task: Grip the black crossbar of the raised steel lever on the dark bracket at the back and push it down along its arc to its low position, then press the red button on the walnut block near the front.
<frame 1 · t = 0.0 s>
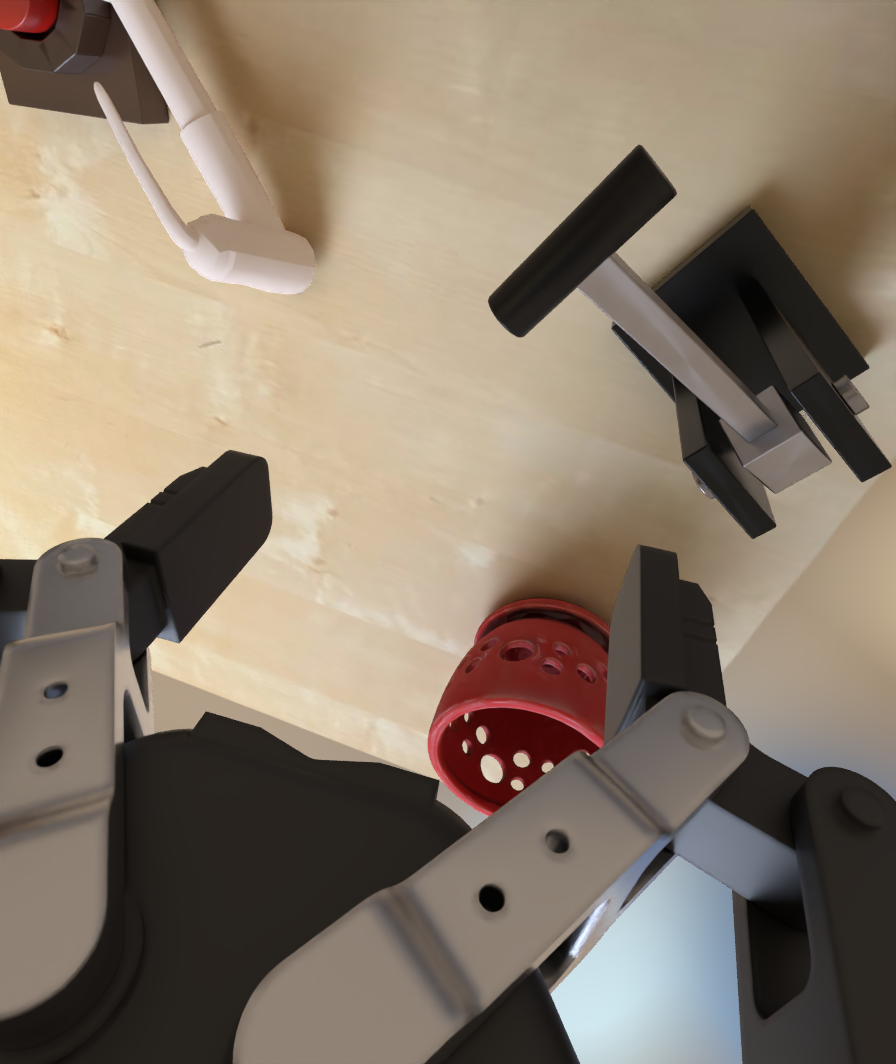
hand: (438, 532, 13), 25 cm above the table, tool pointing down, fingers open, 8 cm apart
faucet: (222, 118, 32), on the table, touching button block
lever: (698, 368, 19), point 15 cm above the table, hinge at 28.0°
flower pot: (546, 640, 48), on the table
bracket: (733, 340, 32), on the table
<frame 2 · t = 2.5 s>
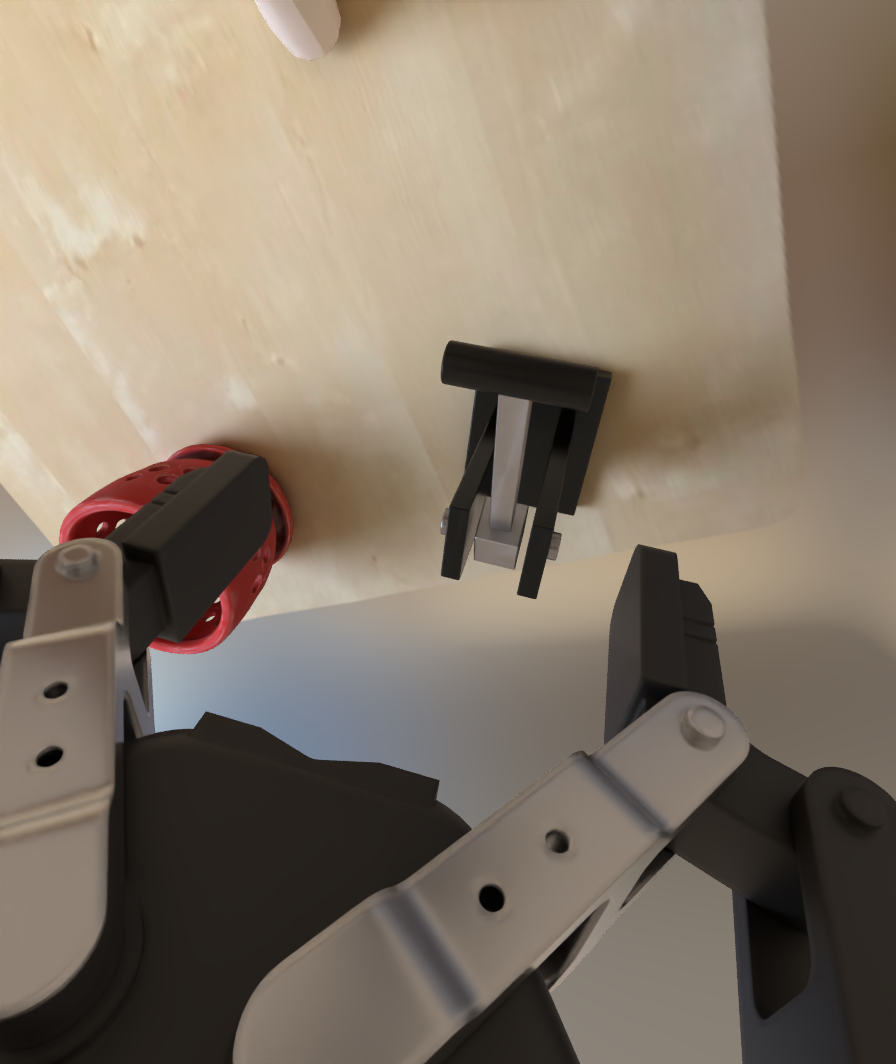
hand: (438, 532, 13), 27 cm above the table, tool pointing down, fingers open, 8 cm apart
lever: (507, 475, 26), point 15 cm above the table, hinge at 28.0°
flower pot: (236, 494, 50), on the table
bracket: (532, 432, 41), on the table
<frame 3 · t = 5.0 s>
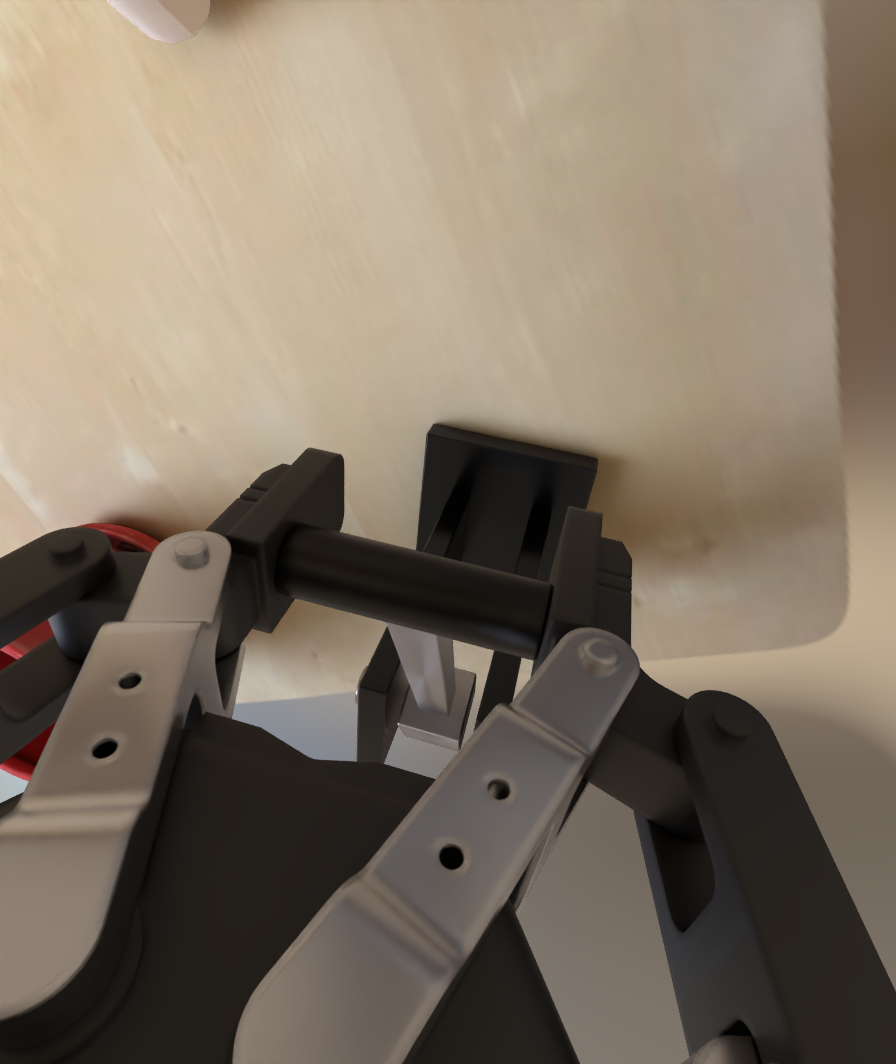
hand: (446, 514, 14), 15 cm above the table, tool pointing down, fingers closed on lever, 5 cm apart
lever: (431, 669, 17), point 15 cm above the table, hinge at 28.0°, touching gripper
flower pot: (147, 576, 42), on the table
bracket: (498, 524, 32), on the table
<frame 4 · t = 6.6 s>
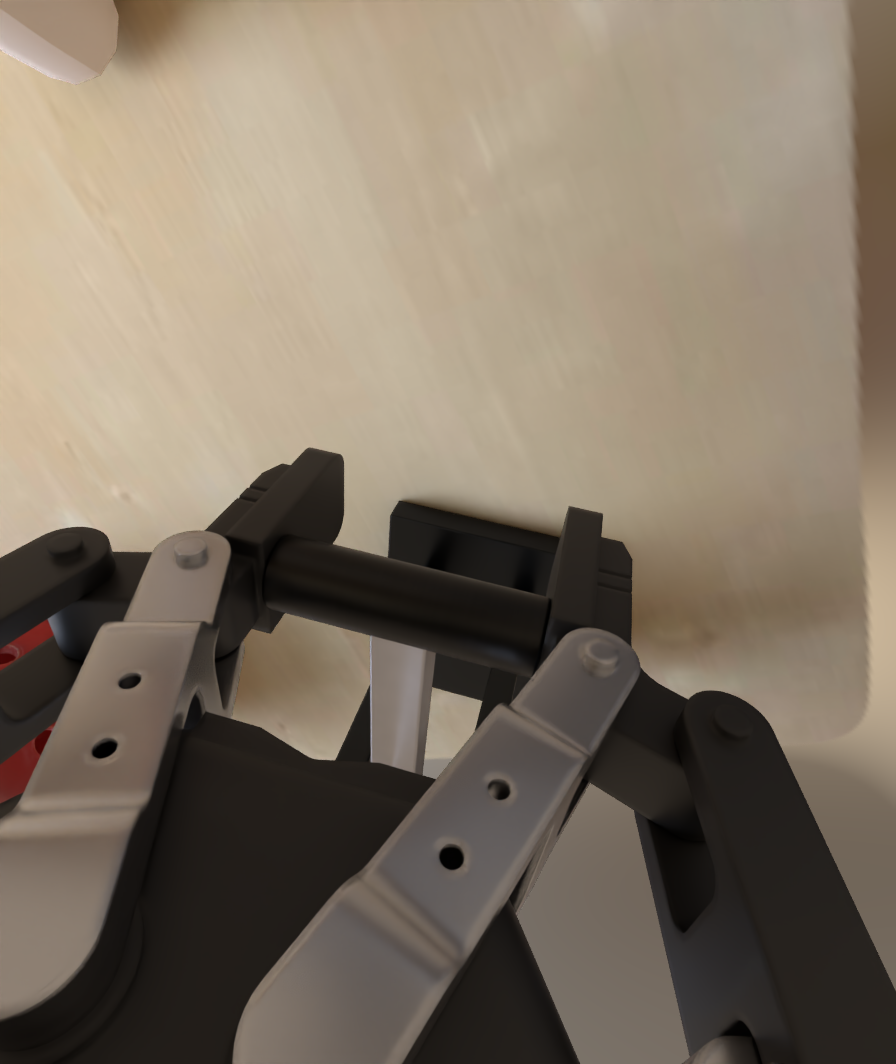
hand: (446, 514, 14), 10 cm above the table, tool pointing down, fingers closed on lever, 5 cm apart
lever: (397, 773, 15), point 12 cm above the table, hinge at 4.4°, touching gripper
flower pot: (100, 641, 38), on the table
bracket: (474, 606, 28), on the table
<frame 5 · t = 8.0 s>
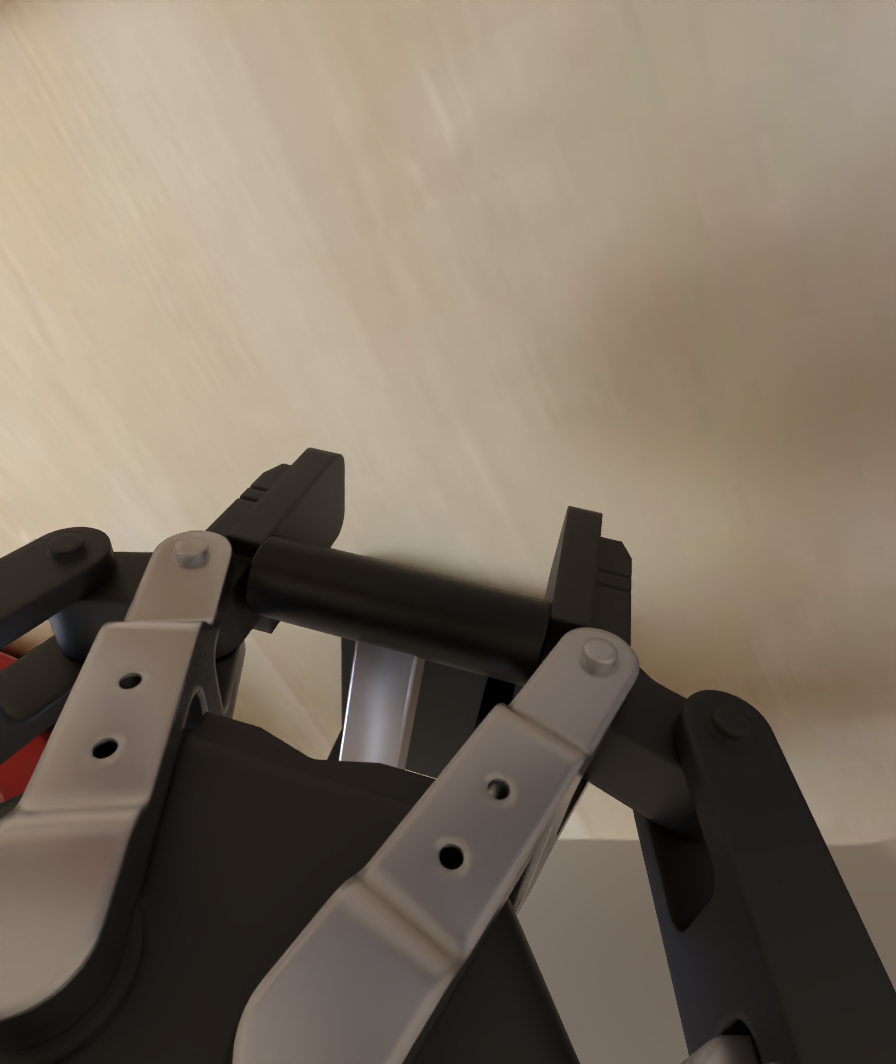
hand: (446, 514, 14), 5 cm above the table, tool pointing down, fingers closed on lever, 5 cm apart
lever: (352, 884, 12), point 10 cm above the table, hinge at -18.2°, touching gripper
flower pot: (29, 698, 34), on the table
bracket: (448, 679, 24), on the table
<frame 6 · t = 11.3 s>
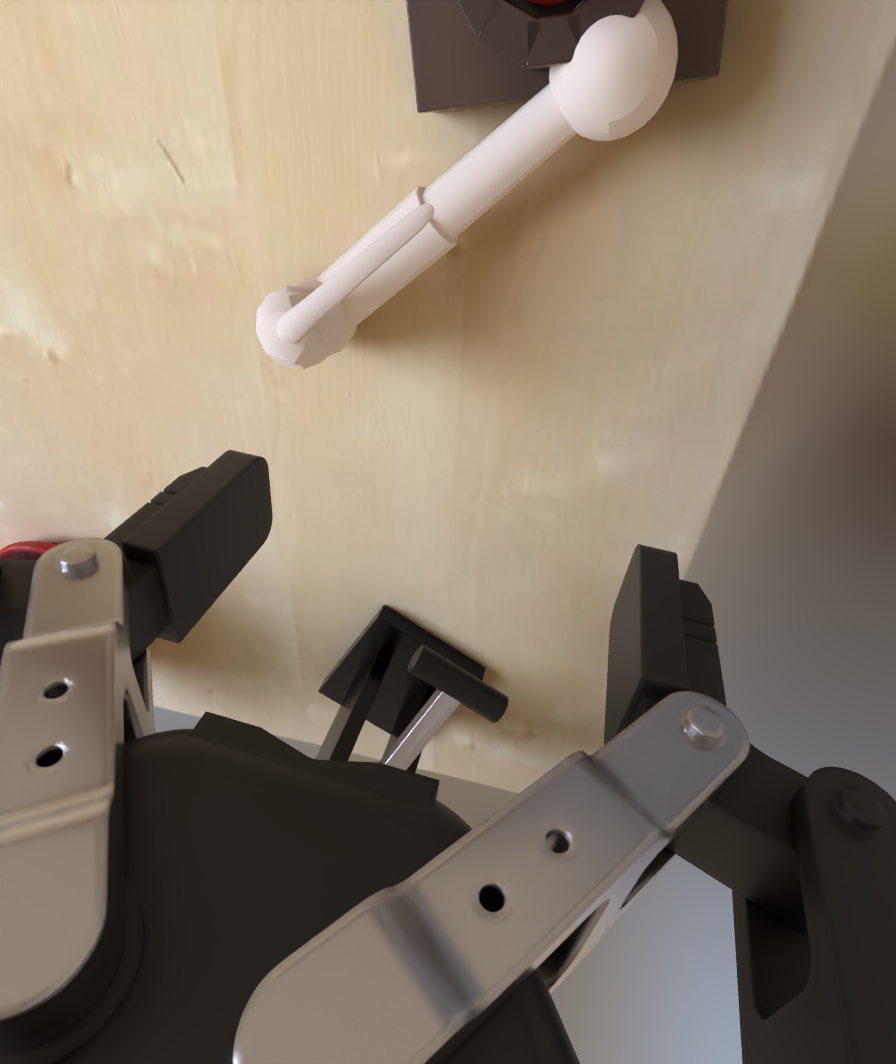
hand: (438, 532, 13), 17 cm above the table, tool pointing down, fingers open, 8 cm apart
faucet: (455, 204, 25), on the table, touching button block
lever: (389, 769, 31), point 10 cm above the table, hinge at -18.7°
flower pot: (81, 589, 46), on the table
bracket: (400, 674, 43), on the table
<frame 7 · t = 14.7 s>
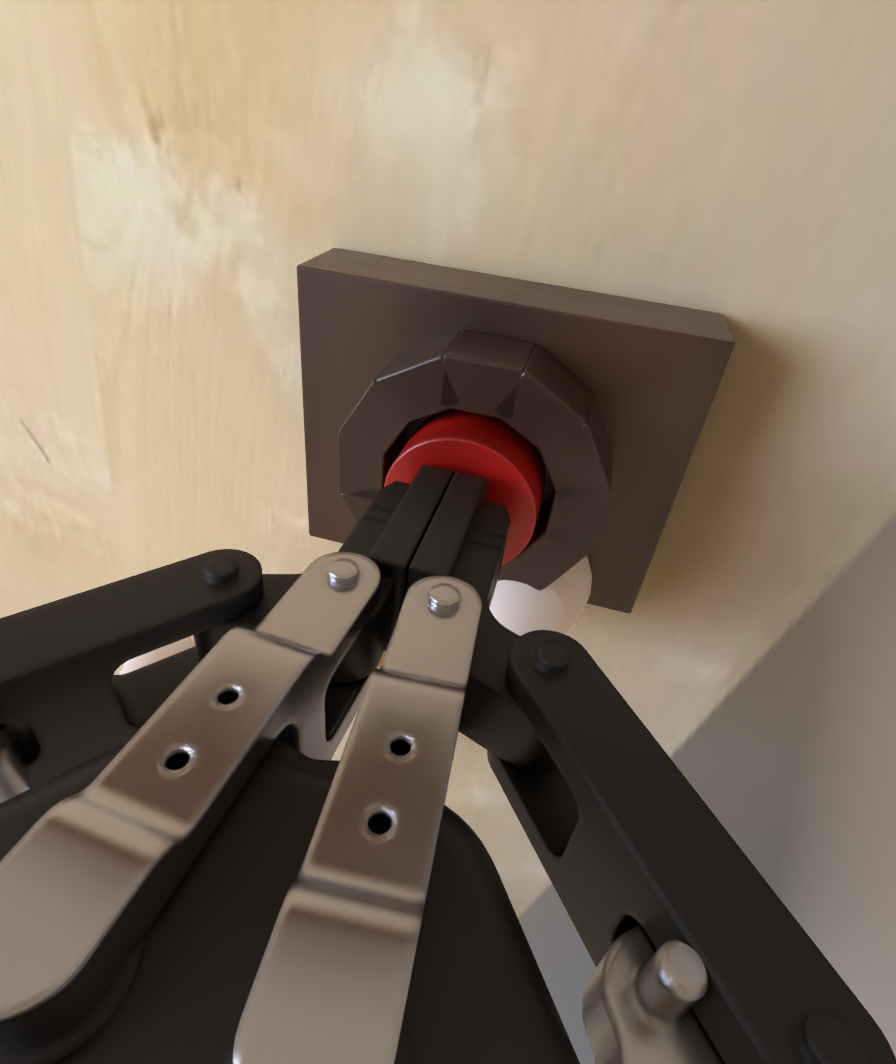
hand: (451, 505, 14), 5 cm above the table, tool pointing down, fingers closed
faucet: (352, 574, 23), on the table, touching button block
button block: (496, 422, 18), on the table
button: (466, 490, 15), point 4 cm above the table, slide at -0.5 cm, touching gripper
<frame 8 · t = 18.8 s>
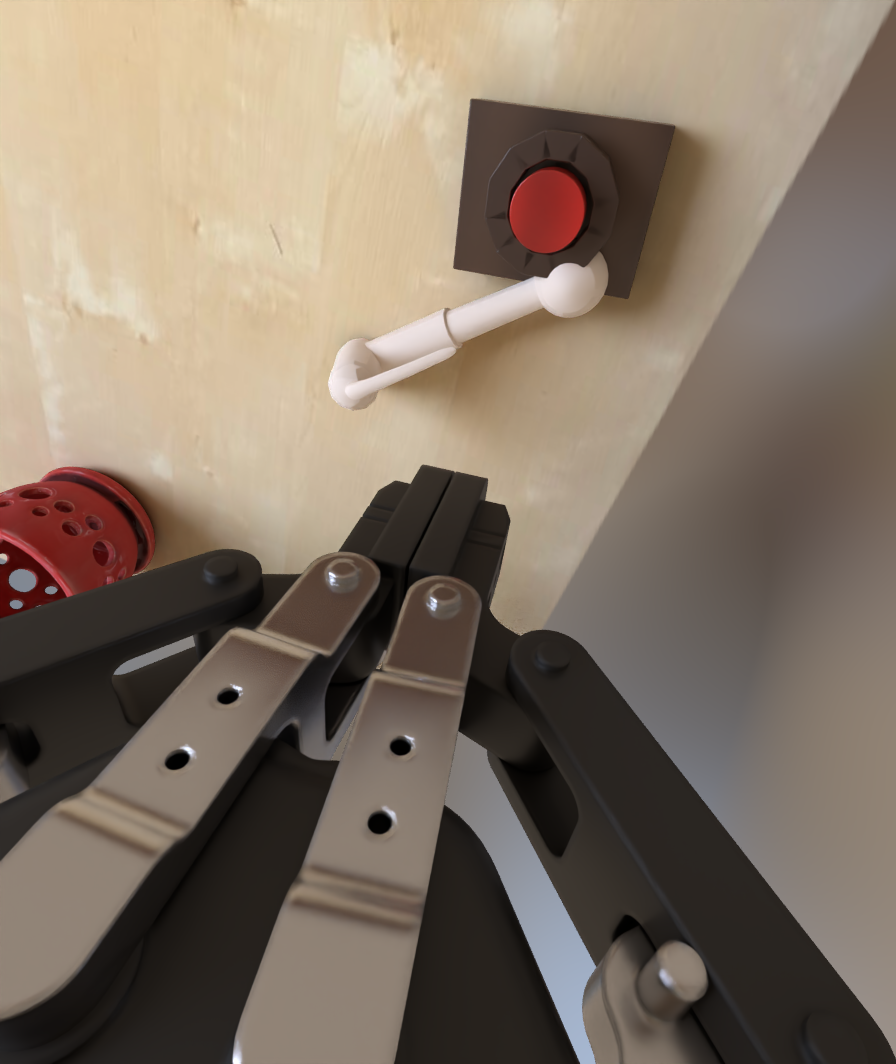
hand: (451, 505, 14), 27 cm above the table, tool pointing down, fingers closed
faucet: (464, 316, 38), on the table, touching button block
button block: (557, 198, 34), on the table
button: (548, 210, 30), point 4 cm above the table, slide at 0.1 cm
lever: (351, 676, 45), point 10 cm above the table, hinge at -18.7°
flower pot: (110, 510, 57), on the table
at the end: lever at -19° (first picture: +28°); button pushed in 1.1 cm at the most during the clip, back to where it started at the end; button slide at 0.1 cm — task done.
